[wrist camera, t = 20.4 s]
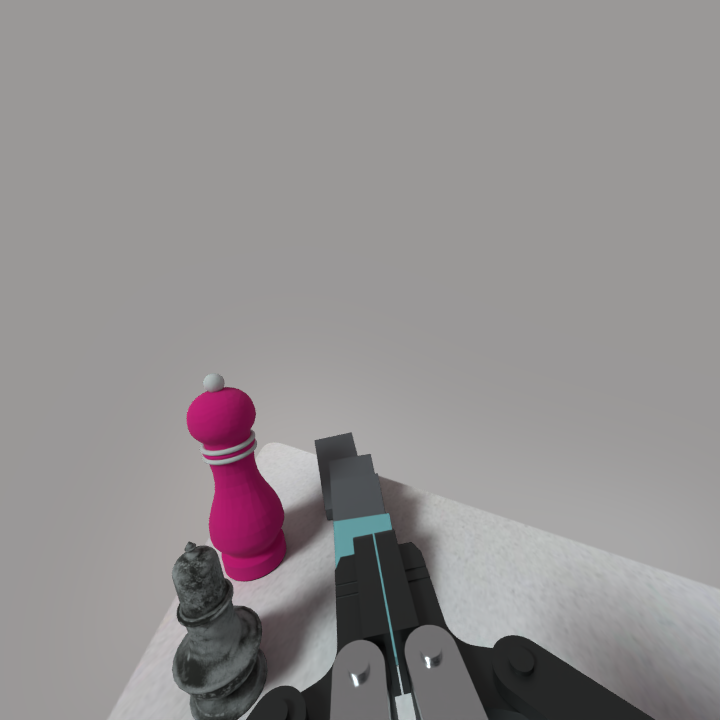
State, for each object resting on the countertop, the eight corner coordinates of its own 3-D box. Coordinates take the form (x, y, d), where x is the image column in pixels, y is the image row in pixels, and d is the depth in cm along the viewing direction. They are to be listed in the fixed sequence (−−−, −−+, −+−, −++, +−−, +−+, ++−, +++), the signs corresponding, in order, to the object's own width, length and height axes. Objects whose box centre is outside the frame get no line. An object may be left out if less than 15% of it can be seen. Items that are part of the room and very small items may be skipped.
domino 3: (397, 578, 30) (377, 473, 37) (338, 588, 30) (330, 480, 37) (397, 587, 31) (378, 484, 39) (341, 597, 31) (332, 491, 39)
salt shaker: (271, 631, 29) (240, 503, 26) (270, 714, 23) (230, 563, 20) (195, 655, 28) (154, 524, 25) (175, 748, 22) (118, 594, 19)
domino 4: (414, 653, 24) (389, 513, 32) (340, 665, 24) (333, 521, 32) (414, 662, 25) (389, 525, 33) (344, 674, 25) (336, 533, 33)
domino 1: (369, 499, 40) (351, 432, 48) (325, 510, 40) (314, 440, 47) (370, 509, 42) (352, 442, 49) (327, 519, 41) (316, 450, 49)
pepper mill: (222, 545, 39) (175, 373, 35) (287, 524, 41) (251, 358, 37) (218, 598, 33) (159, 393, 28) (295, 569, 35) (253, 374, 30)
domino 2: (388, 538, 34) (370, 453, 42) (336, 547, 34) (328, 461, 42) (388, 548, 36) (371, 464, 44) (339, 557, 36) (331, 471, 43)
